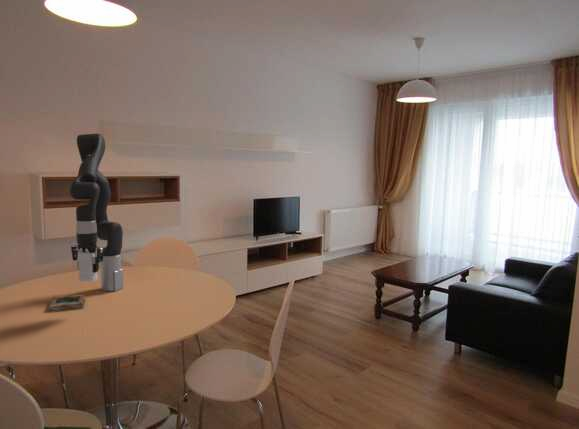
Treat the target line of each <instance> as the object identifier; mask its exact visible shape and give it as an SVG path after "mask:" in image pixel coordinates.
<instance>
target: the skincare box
mask: <svg viewBox="0 0 579 429" xmlns="http://www.w3.org/2000/svg"><path fill="white" fill-rule="evenodd" d="M96 253H97V252H96ZM90 254H91V256H95V253H90ZM90 254H89V253H86V252H78V264H77V269H78V268H79V270H78V281H79V282H95V281H96V280H98V279H99V271H98V272H96V273H94V272H93V262H92V258H90ZM94 259H95V258H94Z"/></svg>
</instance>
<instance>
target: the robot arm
mask: <svg viewBox="0 0 579 429" xmlns="http://www.w3.org/2000/svg"><path fill="white" fill-rule="evenodd" d="M76 146H77V149H78V152H79V156H80V159H81V164H80V165H79V167H78V168H79V169H78V172H77V176H76V177H75V178H74V180H73V181H72V183H71V185H70V188H69V194H70V196H71V198H72V199H74V200H79V201H80V200H83V201H84V200H85V201H87V200H89V202H88V203H86V204H82V205H78V206H77V207H76V209H75V216H76V224H75V234H76V243H77V244H75V245H72V246H70V251H71V257H72V261H76V262H77V264H76V265H78V252H86V253H89V254H90V253H95V256H91V254H90V258H92V262H93V272H94V273H96V272H98V273H99V270H100V289H101V291H103V292H117V291H119V290H121V289H123V288H124V269H123V268H122V257H121V256H122V254H121V252H122V248H123V236H124V235H123V232H124V231H123V227H122V225H121V224H120V223H119V222H115V221H109V218H108V213H107V212H108V211H107V210H108V206H109V203H110V200H111V197H112V194H111V193H112V192H111V187H110V183H109V182H110V181H109V179H108V178H107V177H106V176H105V175H104V174H103V172H101V171H100V170H99V167H100V165H101V161H102V159H103V157H104V154H105V151H106V141H105V138H104V136H103V135H102V134H101V133H86V134H85V133H84V134H79V135H77V136H76ZM98 240H101V241H107V242H106V243H107V244H106V246H105V247H102V246H101V247H98V246H97V243H98ZM96 252H97V253H96ZM94 258H95V259H94ZM99 265H100V266H99ZM99 267H100V268H99ZM77 270H78V271H79V268H78V267H77Z"/></svg>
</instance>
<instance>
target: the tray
mask: <svg viewBox="0 0 579 429" xmlns="http://www.w3.org/2000/svg"><path fill="white" fill-rule="evenodd" d="M85 303H86V298H85V294H75V295H65V296H54V297H53V298H52V300H51V302H50V305H49V309H48V313H54V312H55V313H56V312H64V311H74V310H75V311H76V310H82V309H84V308H85V305H86V304H85Z"/></svg>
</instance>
